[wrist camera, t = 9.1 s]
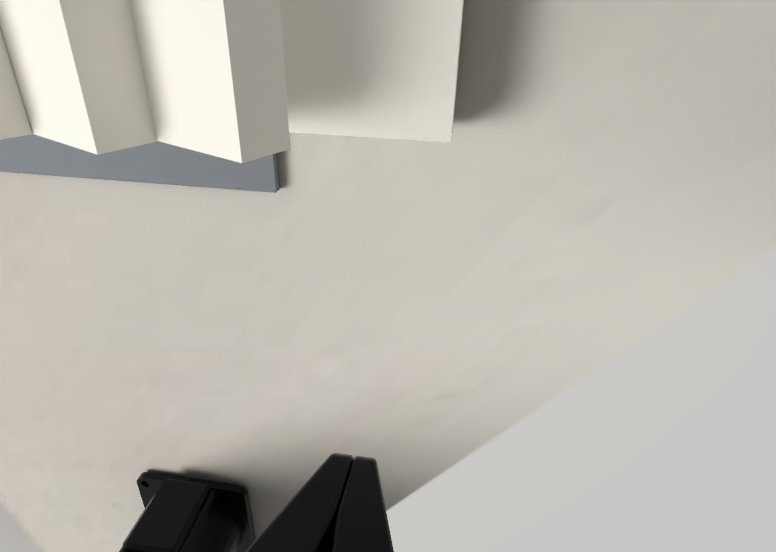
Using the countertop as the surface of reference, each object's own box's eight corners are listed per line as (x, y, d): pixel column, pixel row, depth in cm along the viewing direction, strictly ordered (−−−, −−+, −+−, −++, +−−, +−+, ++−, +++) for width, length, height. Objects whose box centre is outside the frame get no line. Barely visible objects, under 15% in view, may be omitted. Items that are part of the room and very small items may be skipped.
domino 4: (113, 108, 19) (290, 149, 15) (64, 116, 18) (241, 163, 13) (82, -29, 17) (277, -29, 13) (24, -31, 16) (219, -32, 11)
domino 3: (13, 103, 20) (156, 141, 15) (-42, 110, 18) (97, 154, 14) (-28, -31, 18) (123, -30, 13) (-94, -34, 16) (50, -34, 12)
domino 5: (206, 114, 19) (452, 129, 18) (182, 125, 17) (450, 142, 16) (186, -25, 17) (465, -17, 16) (157, -27, 15) (464, -19, 14)
